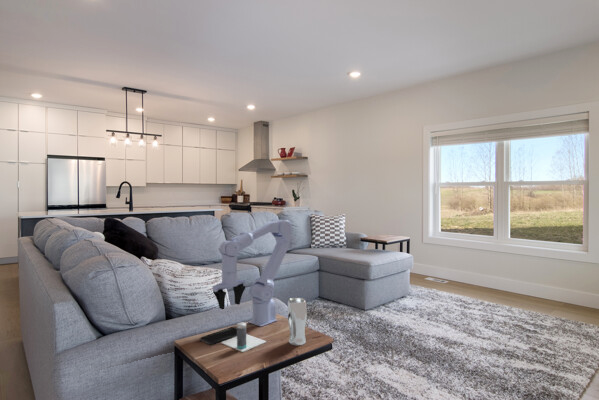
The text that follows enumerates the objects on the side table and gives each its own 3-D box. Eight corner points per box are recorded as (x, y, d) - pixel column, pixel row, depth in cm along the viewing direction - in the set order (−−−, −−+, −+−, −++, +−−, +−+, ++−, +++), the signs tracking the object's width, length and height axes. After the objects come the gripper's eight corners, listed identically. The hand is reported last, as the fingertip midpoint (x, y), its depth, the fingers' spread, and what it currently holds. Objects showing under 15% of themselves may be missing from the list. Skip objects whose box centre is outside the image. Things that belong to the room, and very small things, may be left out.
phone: (198, 337, 131) (232, 326, 142) (199, 341, 131) (232, 329, 142) (211, 343, 125) (245, 331, 136) (211, 346, 125) (245, 334, 136)
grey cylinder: (244, 344, 125) (244, 321, 125) (247, 347, 122) (247, 324, 122) (235, 346, 124) (235, 323, 124) (238, 349, 121) (238, 326, 121)
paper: (244, 334, 136) (244, 333, 136) (266, 342, 128) (266, 341, 128) (220, 343, 127) (220, 342, 127) (242, 352, 120) (242, 351, 120)
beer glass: (309, 339, 130) (309, 298, 130) (303, 347, 123) (302, 303, 123) (291, 337, 132) (291, 296, 132) (284, 344, 126) (284, 302, 126)
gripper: (237, 267, 148) (237, 300, 148) (207, 273, 137) (208, 308, 137) (248, 269, 143) (249, 303, 143) (218, 275, 132) (219, 312, 132)
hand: (229, 306), depth 140 cm, fingers open, 7 cm apart
